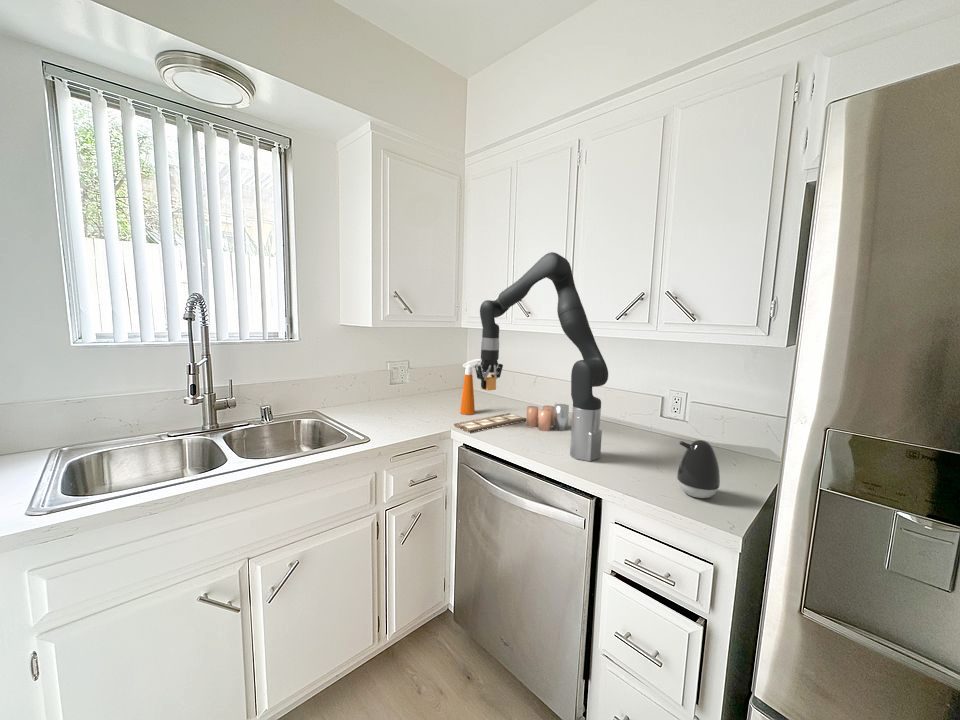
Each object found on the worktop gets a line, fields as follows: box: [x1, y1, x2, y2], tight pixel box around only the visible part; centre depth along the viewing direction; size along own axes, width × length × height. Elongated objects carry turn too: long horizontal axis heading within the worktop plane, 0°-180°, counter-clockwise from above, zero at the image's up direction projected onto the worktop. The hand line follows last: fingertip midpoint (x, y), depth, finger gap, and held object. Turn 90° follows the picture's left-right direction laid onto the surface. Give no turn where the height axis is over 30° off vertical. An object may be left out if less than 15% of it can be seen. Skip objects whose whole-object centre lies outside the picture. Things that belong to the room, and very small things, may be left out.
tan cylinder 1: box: [525, 405, 540, 428], centre depth 169 cm, size 5×5×8 cm
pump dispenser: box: [676, 439, 721, 499], centre depth 106 cm, size 10×10×15 cm
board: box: [453, 412, 526, 433], centre depth 170 cm, size 11×32×1 cm, turn 130°
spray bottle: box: [459, 358, 482, 416], centre depth 186 cm, size 7×11×26 cm, turn 89°
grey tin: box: [553, 403, 570, 431], centre depth 166 cm, size 6×6×10 cm
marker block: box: [480, 375, 497, 392], centre depth 166 cm, size 4×4×5 cm
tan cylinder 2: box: [542, 404, 554, 427], centre depth 171 cm, size 5×5×8 cm
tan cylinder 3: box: [537, 408, 551, 432], centre depth 164 cm, size 5×5×8 cm
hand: (488, 388), depth 166 cm, fingers closed on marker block, 4 cm apart
